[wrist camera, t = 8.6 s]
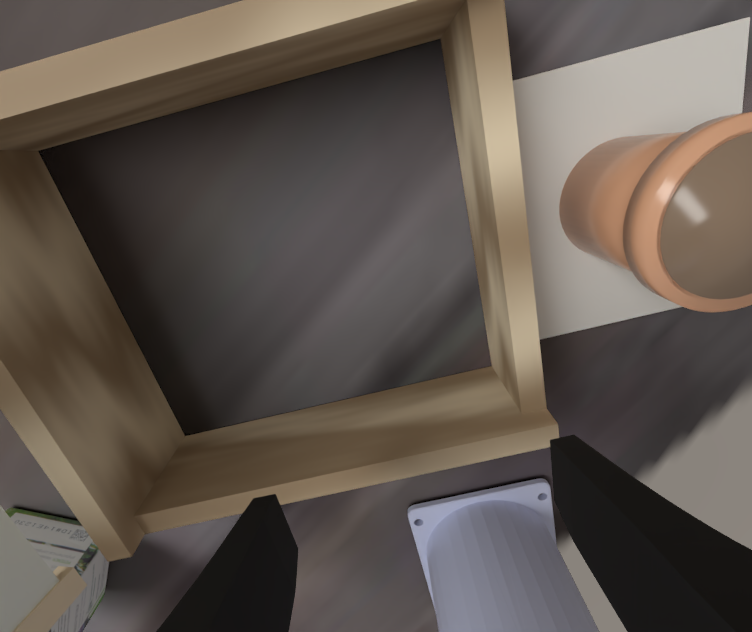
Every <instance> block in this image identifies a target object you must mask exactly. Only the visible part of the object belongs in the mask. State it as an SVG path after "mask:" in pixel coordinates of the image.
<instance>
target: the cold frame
mask: <svg viewBox="0 0 752 632" xmlns="http://www.w3.org/2000/svg"><path fill="white" fill-rule="evenodd" d="M437 39H441V46H442V52H443V58H444V65H445V71H446V78H447V84H448V90H449V97H450V103H451V109H452V116H453V122H454V129H455V135H456V141H457V148H458V154H459V160H460V167H461V173H462V180H463V186H464V192H465V199H466V205H467V211H468V218H469V224H470V231H471V237H472V243H473V250H474V256H475V262H476V269H477V275H478V282H479V288H480V294H481V301H482V307H483V313H484V320H485V326H486V333H487V339H488V345H489V352H490V358H491V364H492V366H489V367H485V368H481V369H476V370H472V371H467V372H463V373H459V374H454V375H450V376H446V377H441V378H437V379H433V380H428V381H424V382H419V383H415V384H411V385H406V386H402V387H398V388H393V389H389V390H384V391H380V392H376V393H371V394H367V395H363V396H358V397H354V398H350V399H345V400H341V401H336V402H332V403H328V404H323V405H319V406H315V407H310V408H306V409H301V410H297V411H293V412H288V413H284V414H280V415H275V416H271V417H267V418H262V419H258V420H253V421H249V422H245V423H240V424H236V425H232V426H227V427H223V428H218V429H214V430H210V431H205V432H201V433H197V434H192V435H188V436H185V435H184V433H183V431H182V429H181V427H180V425H179V423H178V421H177V419H176V418H175V416H174V414H173V412H172V410H171V408H170V406H169V404H168V402H167V400H166V398H165V396H164V394H163V392H162V390H161V388H160V387H159V385H158V383H157V381H156V379H155V377H154V375H153V373H152V371H151V369H150V367H149V365H148V363H147V361H146V359H145V357H144V356H143V354H142V352H141V350H140V348H139V346H138V344H137V342H136V340H135V338H134V336H133V334H132V332H131V330H130V328H129V326H128V324H127V323H126V321H125V319H124V317H123V315H122V313H121V311H120V309H119V307H118V305H117V303H116V301H115V299H114V297H113V295H112V293H111V292H110V290H109V288H108V286H107V284H106V282H105V280H104V278H103V276H102V274H101V272H100V270H99V268H98V266H97V264H96V262H95V261H94V259H93V257H92V255H91V253H90V251H89V249H88V247H87V245H86V243H85V241H84V239H83V237H82V235H81V233H80V231H79V230H78V228H77V226H76V224H75V222H74V220H73V218H72V216H71V214H70V212H69V210H68V208H67V206H66V204H65V202H64V200H63V199H62V197H61V195H60V193H59V191H58V189H57V187H56V185H55V183H54V181H53V179H52V177H51V175H50V173H49V171H48V169H47V167H46V166H45V164H44V162H43V160H42V158H41V156H40V154H39V152H38V151H39V150H43V149H47V148H50V147H54V146H57V145H61V144H64V143H68V142H72V141H75V140H79V139H82V138H86V137H90V136H93V135H97V134H100V133H104V132H107V131H111V130H115V129H118V128H122V127H125V126H129V125H133V124H136V123H140V122H143V121H147V120H150V119H154V118H158V117H161V116H165V115H168V114H172V113H176V112H179V111H183V110H186V109H190V108H194V107H197V106H201V105H204V104H208V103H211V102H215V101H219V100H222V99H226V98H229V97H233V96H237V95H240V94H244V93H247V92H251V91H254V90H258V89H262V88H265V87H269V86H272V85H276V84H280V83H283V82H287V81H290V80H294V79H298V78H301V77H305V76H308V75H312V74H315V73H319V72H323V71H326V70H330V69H333V68H337V67H341V66H344V65H348V64H351V63H355V62H358V61H362V60H366V59H369V58H373V57H376V56H380V55H384V54H387V53H391V52H394V51H398V50H402V49H405V48H409V47H412V46H416V45H419V44H423V43H427V42H430V41H434V40H437ZM0 409H1V411H2V412H3V414H4V415H5V416H6V418H7V419H8V421H9V422H10V423H11V425H12V426H13V428H14V429H15V431H16V432H17V433H18V435H19V436H20V438H21V439H22V441H23V442H24V443H25V445H26V446H27V448H28V449H29V451H30V452H31V453H32V455H33V456H34V458H35V459H36V460H37V462H38V463H39V465H40V466H41V468H42V469H43V470H44V472H45V473H46V475H47V476H48V478H49V479H50V480H51V482H52V483H53V485H54V486H55V487H56V489H57V490H58V492H59V493H60V495H61V496H62V497H63V499H64V500H65V502H66V503H67V505H68V506H69V507H70V509H71V510H72V512H73V513H74V515H75V516H76V517H77V519H78V520H79V522H80V523H81V524H82V526H83V527H84V529H85V530H86V532H87V533H88V534H89V536H90V537H91V539H92V540H93V542H94V543H95V544H96V546H97V547H98V549H99V550H100V551H101V553H102V554H103V556H104V557H105V559H106V560H107V561H108V562H109V561H114V560H119V559H123V558H128V557H132V556H133V554H134V552H135V551H136V549H137V547H138V545H139V544H140V542H141V540H142V538H143V537H144V535H145V534H148V533H153V532H157V531H162V530H167V529H171V528H176V527H181V526H185V525H190V524H195V523H199V522H204V521H208V520H213V519H218V518H222V517H227V516H232V515H236V514H241V513H243V512H244V511H245V509H246V508H247V507H248V505H249V504H250V502H251V501H252V500H253V498H257V497H262V496H267V495H272V494H276V496H277V498H278V501H279V503H280V505H283V504H287V503H292V502H297V501H301V500H306V499H311V498H315V497H320V496H325V495H329V494H334V493H339V492H343V491H348V490H352V489H357V488H362V487H366V486H371V485H376V484H380V483H385V482H390V481H394V480H399V479H404V478H408V477H413V476H418V475H422V474H427V473H431V472H436V471H441V470H445V469H450V468H455V467H459V466H464V465H469V464H473V463H478V462H483V461H487V460H492V459H497V458H501V457H506V456H510V455H515V454H520V453H524V452H529V451H534V450H538V449H543V448H548V447H550V440H551V439H556V438H559V429H558V423H557V422H556V421H555V419H554V418H553V416H552V415H551V414H550V412H549V411H548V410H547V407H546V398H545V388H544V378H543V369H542V359H541V350H540V340H539V330H538V321H537V311H536V301H535V292H534V282H533V273H532V263H531V253H530V244H529V234H528V225H527V215H526V205H525V196H524V186H523V177H522V167H521V157H520V148H519V138H518V128H517V119H516V109H515V100H514V90H513V80H512V71H511V61H510V52H509V42H508V32H507V23H506V13H505V4H504V0H243V1H239V2H236V3H233V4H229V5H226V6H222V7H219V8H216V9H212V10H209V11H205V12H202V13H199V14H195V15H192V16H188V17H185V18H181V19H178V20H175V21H171V22H168V23H164V24H161V25H158V26H154V27H151V28H147V29H144V30H140V31H137V32H134V33H130V34H127V35H123V36H120V37H117V38H113V39H110V40H106V41H103V42H100V43H96V44H93V45H89V46H86V47H82V48H79V49H76V50H72V51H69V52H65V53H62V54H59V55H55V56H52V57H48V58H45V59H42V60H38V61H35V62H31V63H28V64H24V65H21V66H18V67H14V68H11V69H7V70H4V71H1V72H0Z"/></svg>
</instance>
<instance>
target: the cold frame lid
mask: <svg viewBox="0 0 752 632" xmlns="http://www.w3.org/2000/svg"><path fill="white" fill-rule="evenodd" d="M86 586H87V584H86V583H85V581H84V580H83V579H82V577H81V576H80V575H79V574H78V572H77V571H76V570H75V568H74V567H63V566H58V567H57V568H56V569H55V570H54V571H53V572H52V571H51V569H50V568H49V567H48V565H47V564H46V563H45V562H44V560H43V559H42V558H41V557H40V555H39V554H38V553H37V551H36V550H35V549H34V548H33V546H32V545H31V544H30V543H29V541H28V540H27V539H26V537H25V536H24V535H23V534H22V532H21V531H20V530H19V529H18V527H17V526H16V525H15V523H14V522H13V521H12V520H11V518H10V517H9V516H8V515H7V513H6V512H5V511H4V510H3V508H2V507H1V506H0V632H48V631H49V630H50V629H51V627H52V626H53V625H54V624H55V623H56V622H57V620H58V619H59V618H60V617H61V616H62V614H63V613H64V612H65V611H66V610H67V609H68V607H69V606H70V605H71V604H72V603H73V602H74V600H75V599H76V598H77V597H78V596H79V595H80V593H81V592H82V591H83V590H84V589H85V587H86Z"/></svg>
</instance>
